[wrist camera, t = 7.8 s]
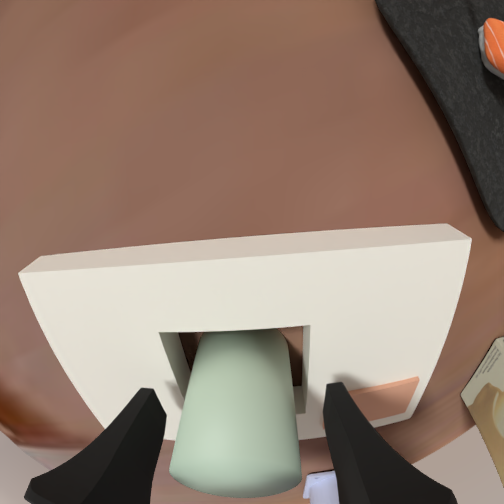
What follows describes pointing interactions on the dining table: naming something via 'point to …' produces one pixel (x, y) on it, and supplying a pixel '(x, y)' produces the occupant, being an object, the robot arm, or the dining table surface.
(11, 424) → the dining table surface
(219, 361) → the peg
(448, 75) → the sushi plate
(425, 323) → the hole board
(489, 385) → the skincare box
